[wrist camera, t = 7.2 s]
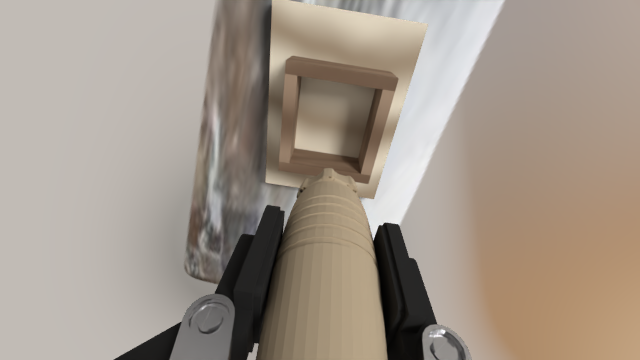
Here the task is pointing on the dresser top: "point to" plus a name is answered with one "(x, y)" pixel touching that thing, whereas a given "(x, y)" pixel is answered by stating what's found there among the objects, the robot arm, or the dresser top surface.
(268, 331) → the handle
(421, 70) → the dresser top surface
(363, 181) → the wooden base with box
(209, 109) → the dresser top surface
